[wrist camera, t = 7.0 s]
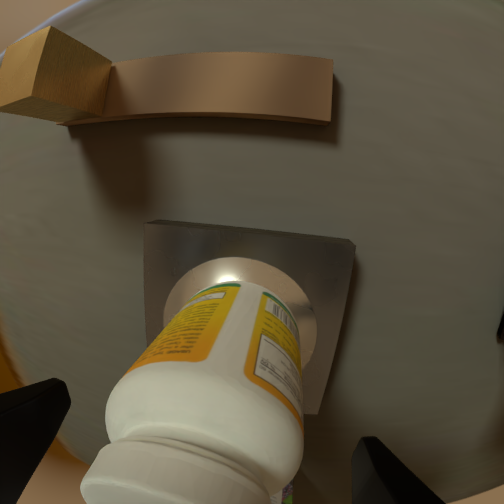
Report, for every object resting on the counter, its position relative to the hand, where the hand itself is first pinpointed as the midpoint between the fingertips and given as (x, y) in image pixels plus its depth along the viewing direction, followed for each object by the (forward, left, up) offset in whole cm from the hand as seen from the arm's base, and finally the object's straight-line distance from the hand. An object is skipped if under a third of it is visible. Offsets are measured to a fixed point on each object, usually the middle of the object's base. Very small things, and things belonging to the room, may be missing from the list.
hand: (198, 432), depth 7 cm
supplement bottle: (0, 0, -6) cm, 6 cm away
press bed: (0, 0, -8) cm, 8 cm away
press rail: (+4, -11, -8) cm, 14 cm away
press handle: (+9, -11, -7) cm, 16 cm away
